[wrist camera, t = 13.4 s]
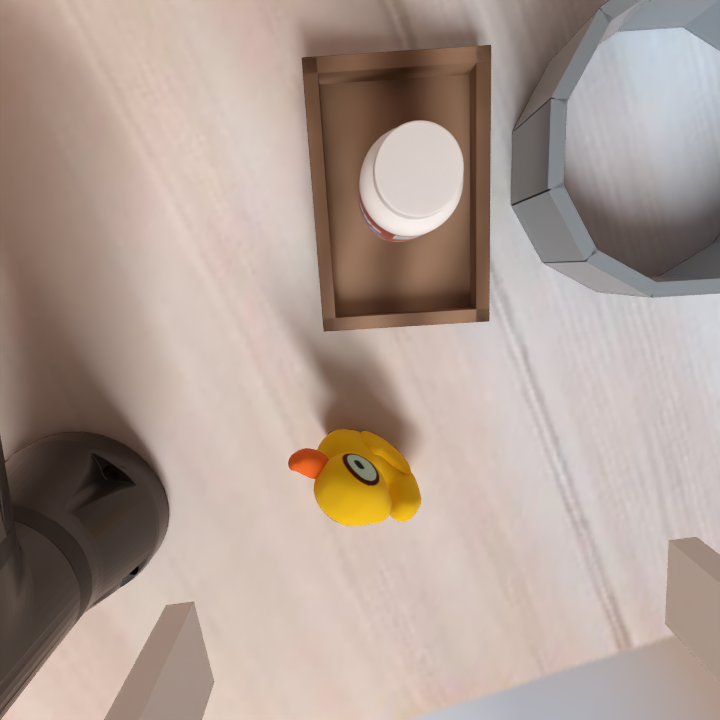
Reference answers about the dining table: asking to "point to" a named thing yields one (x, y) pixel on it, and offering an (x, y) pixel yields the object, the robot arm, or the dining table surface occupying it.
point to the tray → (342, 174)
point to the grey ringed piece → (547, 157)
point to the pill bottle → (410, 181)
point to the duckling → (359, 478)
